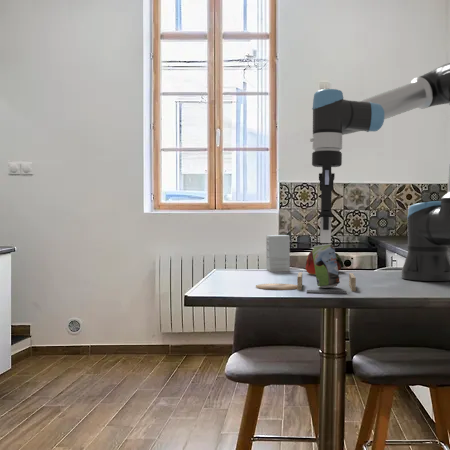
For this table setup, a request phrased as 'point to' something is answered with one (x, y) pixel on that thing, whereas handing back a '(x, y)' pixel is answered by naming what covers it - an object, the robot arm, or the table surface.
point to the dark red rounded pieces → (311, 268)
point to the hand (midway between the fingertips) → (325, 242)
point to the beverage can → (325, 266)
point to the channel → (351, 281)
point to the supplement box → (277, 253)
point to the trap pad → (326, 292)
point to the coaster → (277, 286)
